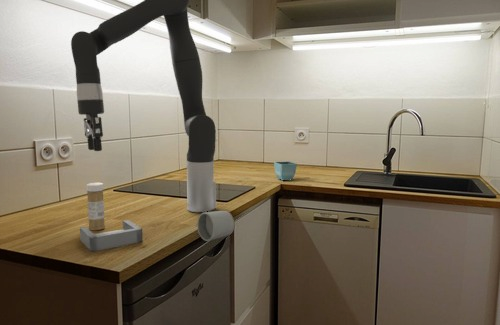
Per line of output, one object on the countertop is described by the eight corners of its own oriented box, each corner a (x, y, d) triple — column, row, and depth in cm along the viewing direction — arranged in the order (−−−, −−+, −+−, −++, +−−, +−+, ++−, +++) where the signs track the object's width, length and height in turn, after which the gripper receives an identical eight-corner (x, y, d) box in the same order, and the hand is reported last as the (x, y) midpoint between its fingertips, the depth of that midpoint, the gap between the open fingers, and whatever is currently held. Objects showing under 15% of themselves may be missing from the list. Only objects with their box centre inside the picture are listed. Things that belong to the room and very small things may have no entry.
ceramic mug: (236, 237, 107) (236, 210, 106) (213, 244, 101) (213, 215, 101) (213, 229, 115) (212, 204, 114) (190, 235, 109) (189, 208, 108)
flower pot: (296, 181, 193) (297, 163, 192) (280, 182, 190) (281, 164, 189) (288, 178, 201) (289, 161, 200) (273, 179, 198) (273, 161, 197)
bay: (128, 231, 111) (128, 219, 111) (142, 241, 103) (142, 228, 102) (80, 240, 103) (79, 227, 103) (91, 251, 95) (90, 238, 94)
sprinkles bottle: (100, 225, 117) (98, 181, 115) (107, 228, 114) (106, 183, 112) (85, 228, 113) (83, 183, 112) (92, 232, 110) (90, 185, 108)
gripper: (108, 97, 118) (112, 150, 120) (97, 100, 130) (102, 148, 131) (81, 97, 114) (87, 152, 116) (73, 100, 125) (78, 150, 127)
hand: (95, 150), depth 124 cm, fingers open, 8 cm apart
